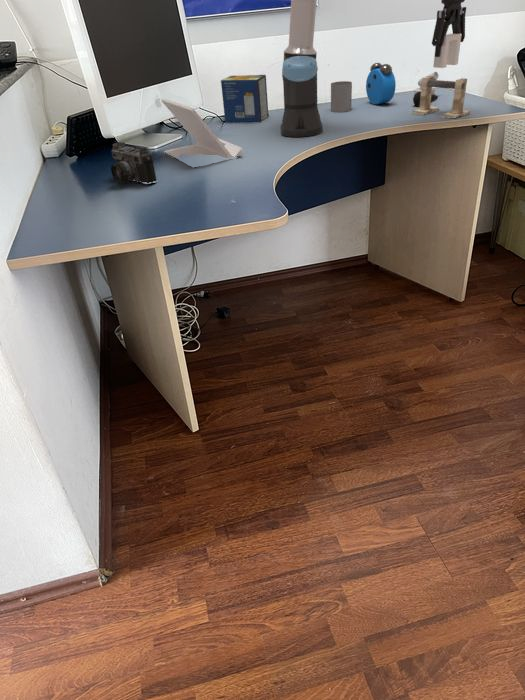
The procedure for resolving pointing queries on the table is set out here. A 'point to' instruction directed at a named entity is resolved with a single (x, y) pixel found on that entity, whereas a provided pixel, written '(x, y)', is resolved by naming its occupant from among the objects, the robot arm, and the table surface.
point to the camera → (132, 164)
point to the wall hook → (435, 77)
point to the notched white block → (450, 49)
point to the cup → (341, 96)
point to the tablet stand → (199, 134)
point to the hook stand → (429, 83)
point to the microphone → (417, 98)
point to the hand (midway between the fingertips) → (445, 65)
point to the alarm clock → (380, 84)
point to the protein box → (245, 98)
